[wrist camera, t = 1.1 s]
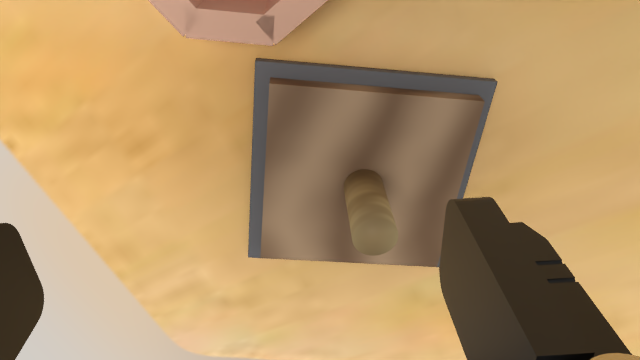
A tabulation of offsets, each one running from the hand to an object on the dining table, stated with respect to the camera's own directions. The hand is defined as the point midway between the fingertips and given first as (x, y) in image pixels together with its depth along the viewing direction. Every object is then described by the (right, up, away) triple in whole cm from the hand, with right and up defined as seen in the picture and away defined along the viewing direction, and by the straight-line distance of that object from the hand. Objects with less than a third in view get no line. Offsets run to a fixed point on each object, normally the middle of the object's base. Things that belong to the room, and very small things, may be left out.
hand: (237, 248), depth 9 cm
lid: (+5, +1, +26) cm, 27 cm away
